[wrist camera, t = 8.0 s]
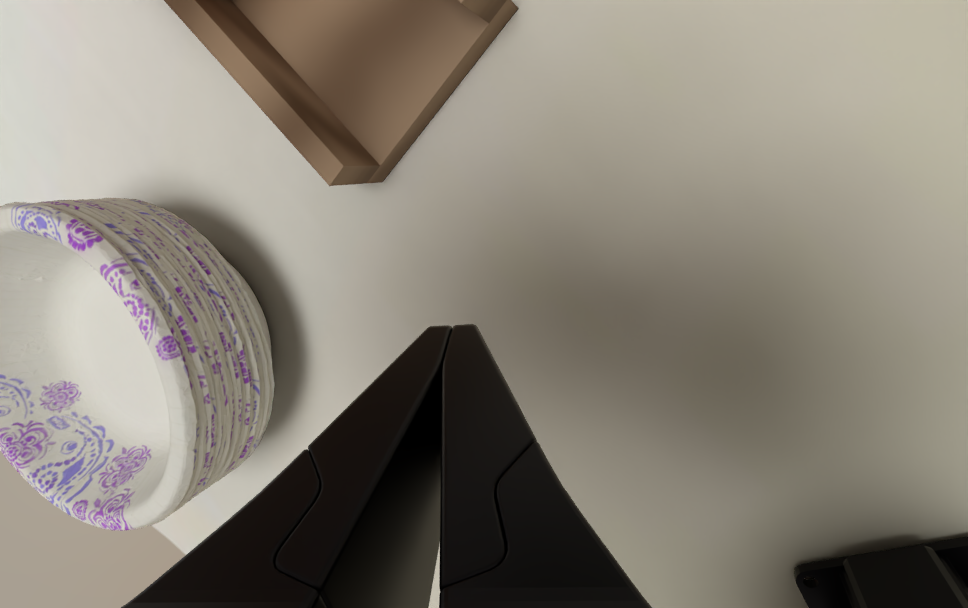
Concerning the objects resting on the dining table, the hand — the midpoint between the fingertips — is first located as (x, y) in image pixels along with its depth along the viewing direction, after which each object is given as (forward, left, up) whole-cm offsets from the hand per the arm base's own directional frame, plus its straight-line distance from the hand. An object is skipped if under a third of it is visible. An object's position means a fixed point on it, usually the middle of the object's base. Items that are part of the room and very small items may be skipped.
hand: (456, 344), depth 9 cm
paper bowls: (+5, +21, -12) cm, 25 cm away
